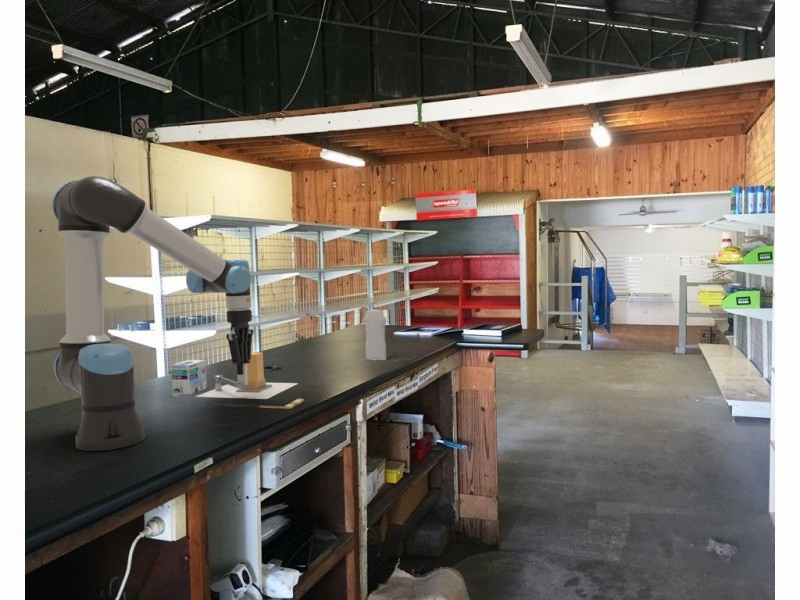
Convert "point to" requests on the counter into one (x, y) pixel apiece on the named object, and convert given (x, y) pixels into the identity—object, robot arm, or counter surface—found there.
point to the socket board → (246, 391)
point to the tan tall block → (255, 372)
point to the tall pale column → (375, 335)
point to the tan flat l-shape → (288, 405)
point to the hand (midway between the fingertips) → (242, 384)
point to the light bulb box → (188, 377)
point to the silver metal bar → (228, 381)
